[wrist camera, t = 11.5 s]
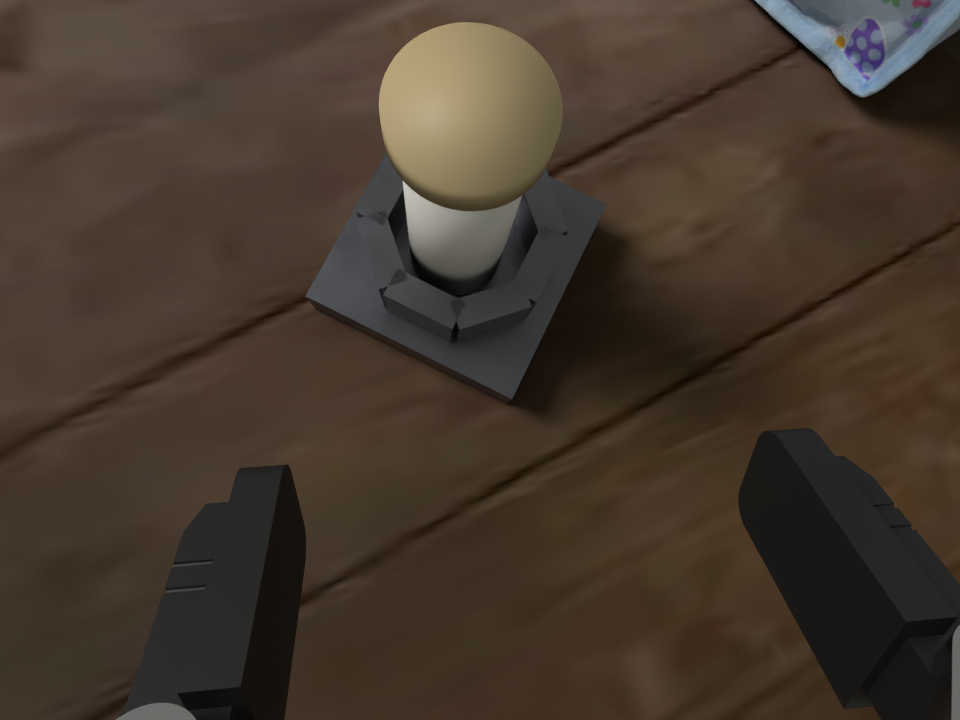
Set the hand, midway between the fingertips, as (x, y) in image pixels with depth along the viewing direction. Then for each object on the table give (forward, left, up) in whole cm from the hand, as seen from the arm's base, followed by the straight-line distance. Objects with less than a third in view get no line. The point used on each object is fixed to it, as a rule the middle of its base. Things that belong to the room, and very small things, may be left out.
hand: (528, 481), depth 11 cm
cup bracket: (-5, +8, -19) cm, 21 cm away
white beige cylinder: (-5, +8, -16) cm, 19 cm away
